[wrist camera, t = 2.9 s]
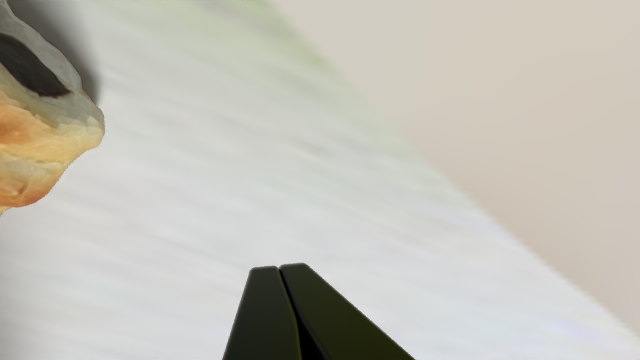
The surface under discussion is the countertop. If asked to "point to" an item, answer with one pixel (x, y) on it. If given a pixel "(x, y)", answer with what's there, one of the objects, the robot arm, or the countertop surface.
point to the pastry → (39, 114)
